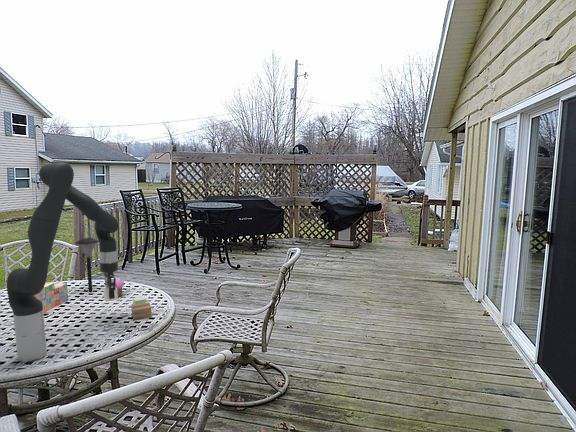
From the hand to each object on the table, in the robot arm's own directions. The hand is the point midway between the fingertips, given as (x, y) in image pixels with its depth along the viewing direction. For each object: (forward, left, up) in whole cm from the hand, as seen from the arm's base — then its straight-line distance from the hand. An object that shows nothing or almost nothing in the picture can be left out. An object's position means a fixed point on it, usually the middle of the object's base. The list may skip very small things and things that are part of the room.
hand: (110, 296), depth 183 cm
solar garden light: (+48, +2, -11) cm, 49 cm away
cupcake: (+32, -8, -11) cm, 35 cm away
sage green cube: (+6, -14, -10) cm, 19 cm away
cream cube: (0, 0, -1) cm, 1 cm away
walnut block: (-5, -12, -11) cm, 17 cm away
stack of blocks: (+34, +23, -11) cm, 43 cm away
